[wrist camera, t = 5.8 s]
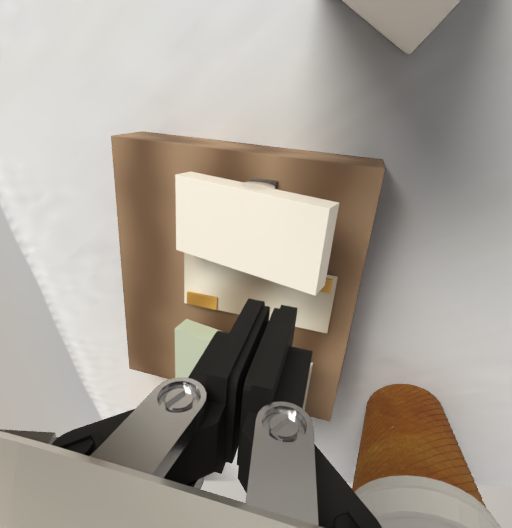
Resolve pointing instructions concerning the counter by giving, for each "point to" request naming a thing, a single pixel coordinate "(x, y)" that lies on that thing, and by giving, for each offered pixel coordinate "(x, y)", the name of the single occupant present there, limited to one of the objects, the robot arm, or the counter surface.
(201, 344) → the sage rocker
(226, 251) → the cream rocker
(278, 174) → the switch unit
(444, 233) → the counter surface
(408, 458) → the disposable coffee cup
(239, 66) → the counter surface
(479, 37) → the counter surface
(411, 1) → the milk carton
